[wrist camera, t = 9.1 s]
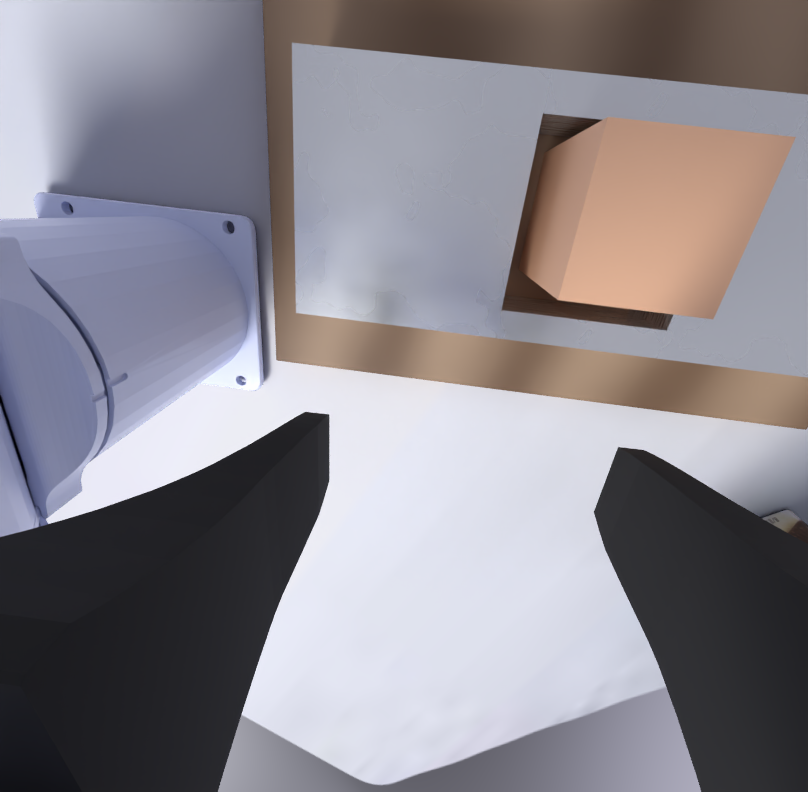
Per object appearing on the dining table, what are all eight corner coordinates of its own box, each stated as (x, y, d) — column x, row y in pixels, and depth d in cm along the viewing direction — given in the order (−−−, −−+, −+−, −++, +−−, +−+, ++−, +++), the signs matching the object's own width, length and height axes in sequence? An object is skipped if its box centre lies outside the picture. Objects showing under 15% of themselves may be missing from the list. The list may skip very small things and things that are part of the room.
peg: (518, 269, 16) (558, 300, 10) (544, 152, 14) (608, 116, 9) (619, 281, 16) (713, 319, 10) (658, 165, 14) (796, 136, 8)
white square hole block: (319, 296, 17) (295, 312, 14) (321, 75, 14) (291, 42, 11) (798, 356, 16) (869, 385, 14) (922, 137, 13) (1048, 119, 10)
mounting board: (284, 353, 19) (276, 360, 18) (272, -40, 13) (260, -59, 12) (787, 418, 18) (805, 429, 18) (1022, 29, 12) (1067, 15, 11)
